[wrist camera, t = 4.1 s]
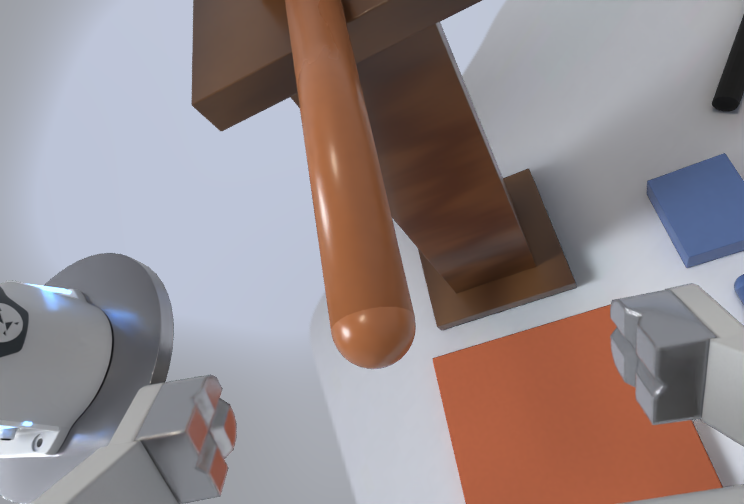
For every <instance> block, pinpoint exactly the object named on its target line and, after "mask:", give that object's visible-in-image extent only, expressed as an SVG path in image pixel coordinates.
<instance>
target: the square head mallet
mask: <svg viewBox="0 0 744 504" xmlns="http://www.w3.org/2000/svg"><path fill="white" fill-rule="evenodd" d="M285 5H286V12H287V19H288V27H289V34H290V41H291V48H292V55H293V62H294V70H295V77H296V84H297V91H298V98H299V105H300V111H301V119H302V126H303V134H304V141H305V147H306V155H307V162H308V169H309V177H310V184H311V191H312V198H313V205H314V213H315V219H316V227H317V234H318V241H319V248H320V255H321V263H322V270H323V277H324V284H325V291H326V298H327V305H328V313H329V320H330V327H331V334H332V338H333V341H334V343H335V345H336V347H337V349H338V351H339V352H340V353H341V354H342V356H343V357H344V358H346V359H347V360H348V361H349V362H351V363H353V364H355V365H357V366H359V367H363V368H367V369H379V368H384V367H387V366H390V365H392V364H394V363H395V362H397V361H398V360H400V359H401V358H402V357H403V356H404V355H405V354H406V353H407V351H408V350H409V348H410V346H411V345H412V342H413V339H414V335H415V328H416V324H415V316H414V312H413V307H412V303H411V299H410V294H409V290H408V286H407V281H406V277H405V273H404V268H403V264H402V260H401V255H400V251H399V247H398V242H397V238H396V234H395V229H394V225H393V221H392V217H391V212H390V208H389V204H388V199H387V195H386V191H385V186H384V182H383V178H382V173H381V169H380V165H379V160H378V156H377V152H376V147H375V143H374V139H373V134H372V130H371V126H370V121H369V117H368V113H367V108H366V104H365V100H364V95H363V91H362V87H361V83H360V78H359V74H358V70H357V65H356V61H355V57H354V52H353V48H352V44H351V39H350V35H349V31H348V26H347V22H346V18H345V13H344V9H343V5H342V0H285Z"/></svg>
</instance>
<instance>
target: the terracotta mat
mask: <svg viewBox="0 0 744 504" xmlns="http://www.w3.org/2000/svg"><path fill="white" fill-rule="evenodd" d="M610 306H611V305H608V306H604V307H601V308H598V309H594V310H591V311H588V312H585V313H581V314H578V315H575V316H571V317H568V318H565V319H561V320H558V321H555V322H551V323H548V324H545V325H542V326H538V327H535V328H532V329H528V330H525V331H522V332H518V333H515V334H512V335H508V336H505V337H502V338H499V339H495V340H492V341H489V342H485V343H482V344H479V345H475V346H472V347H469V348H465V349H462V350H459V351H456V352H452V353H449V354H446V355H442V356H439V357H436V358H433V363H434V368H435V372H436V376H437V381H438V385H439V389H440V394H441V398H442V402H443V407H444V411H445V415H446V420H447V424H448V428H449V433H450V437H451V441H452V446H453V450H454V454H455V459H456V463H457V467H458V472H459V476H460V480H461V485H462V489H463V493H464V498H465V502H466V504H618V503H625V502H632V501H638V500H645V499H651V498H658V497H664V496H671V495H677V494H684V493H690V492H697V491H703V490H710V489H716V488H723V487H722V484H721V482H720V480H719V478H718V476H717V474H716V472H715V469H714V467H713V465H712V463H711V461H710V459H709V457H708V454H707V452H706V450H705V448H704V446H703V444H702V442H701V439H700V437H699V435H698V433H697V431H696V429H695V426H694V424H693V422H692V420H688V421H680V422H673V423H666V424H659V425H652V423H651V422H650V420H649V419H648V417H647V416H646V414H645V413H644V411H643V410H642V408H641V407H640V405H639V404H638V402H637V401H636V399H635V390H636V388H635V387H633V386H631V385H629V384H627V383H625V382H624V381H623V379H622V377H621V376H620V374H619V372H618V370H617V368H616V366H615V364H614V360H613V356H612V352H611V341H610V335H611V334H612V333H613V331H614V330H615V329H616V327H617V326H616V325H615V324H614V322H613V321H612V319H611V318H610Z"/></svg>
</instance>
